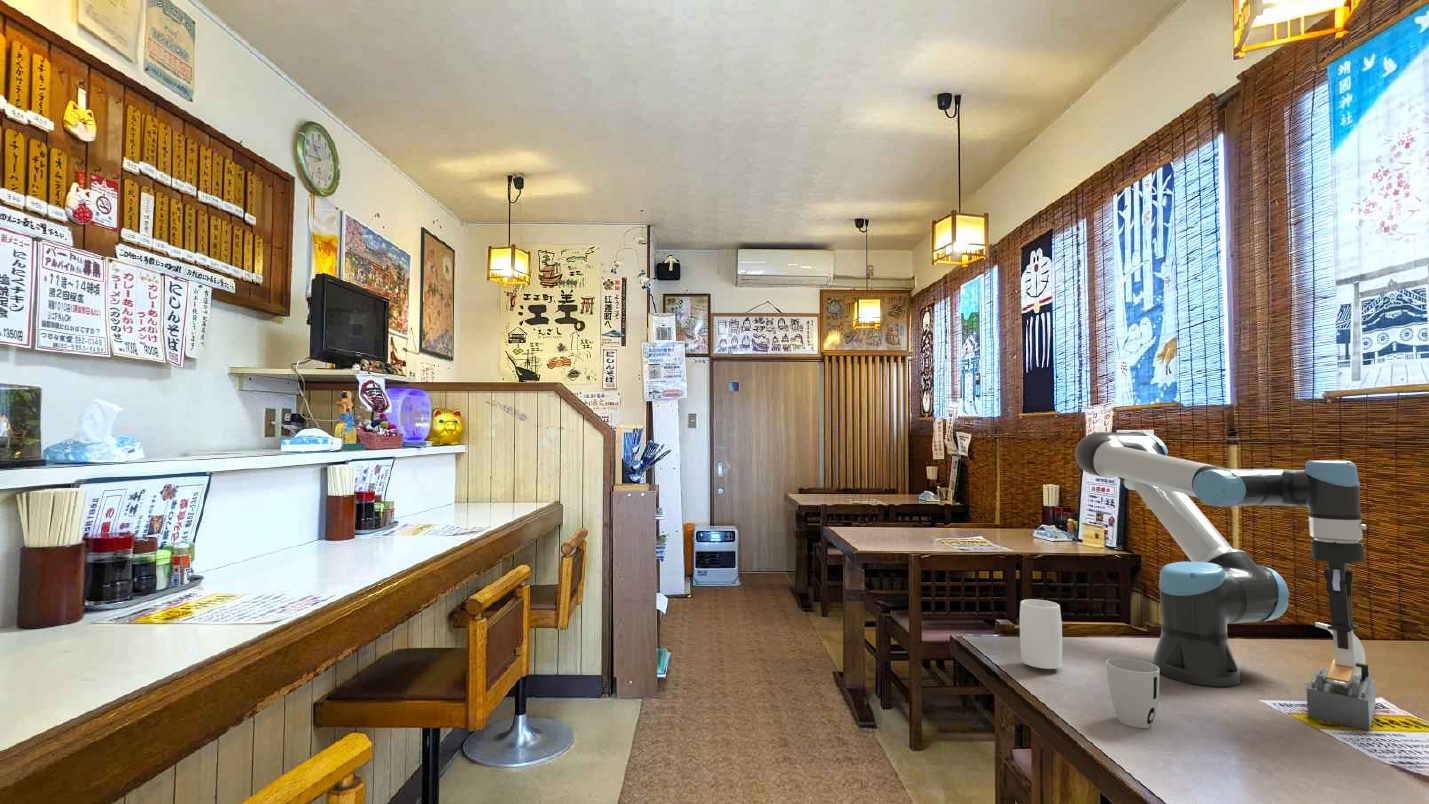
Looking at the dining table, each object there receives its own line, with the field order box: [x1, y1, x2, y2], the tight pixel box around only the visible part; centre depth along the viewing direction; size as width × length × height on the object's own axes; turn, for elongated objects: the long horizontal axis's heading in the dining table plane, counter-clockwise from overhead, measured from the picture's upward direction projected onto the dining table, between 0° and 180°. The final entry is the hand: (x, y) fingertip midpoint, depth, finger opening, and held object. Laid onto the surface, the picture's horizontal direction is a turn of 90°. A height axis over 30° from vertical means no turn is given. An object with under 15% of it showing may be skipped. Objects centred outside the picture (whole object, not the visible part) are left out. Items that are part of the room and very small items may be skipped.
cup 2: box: [1105, 657, 1160, 729], centre depth 118 cm, size 8×8×10 cm
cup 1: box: [1019, 598, 1063, 670], centre depth 146 cm, size 8×8×14 cm
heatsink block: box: [1306, 662, 1376, 731], centre depth 123 cm, size 16×8×8 cm, turn 132°
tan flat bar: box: [1326, 658, 1355, 683], centre depth 124 cm, size 13×3×1 cm, turn 132°
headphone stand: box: [1314, 622, 1367, 676], centre depth 137 cm, size 5×6×12 cm
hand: (1345, 664), depth 126 cm, fingers closed, pressing on tan flat bar
